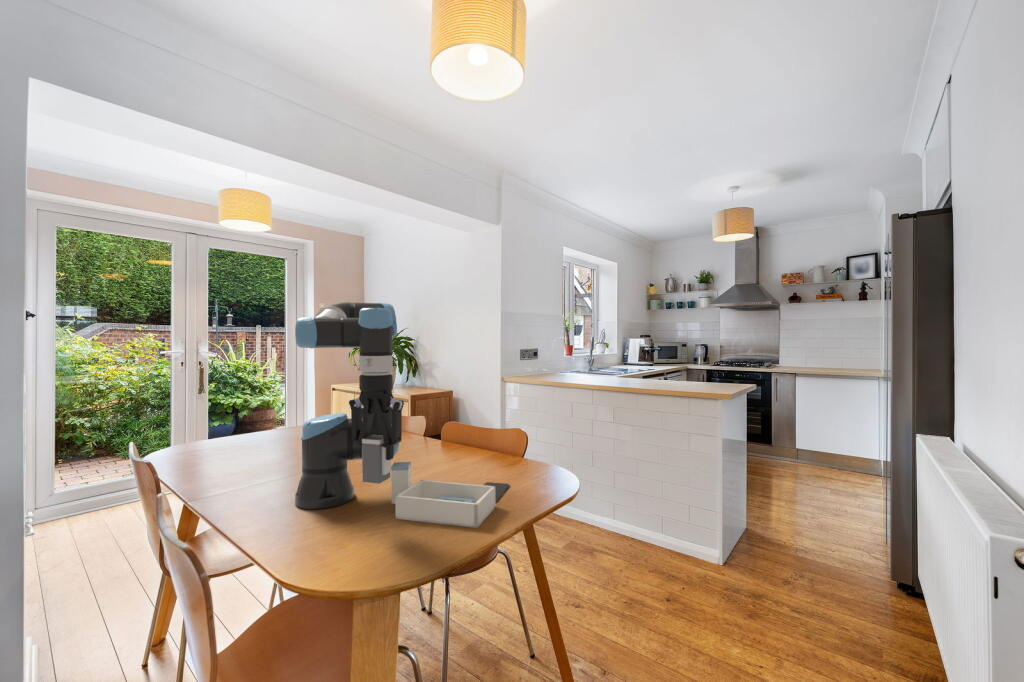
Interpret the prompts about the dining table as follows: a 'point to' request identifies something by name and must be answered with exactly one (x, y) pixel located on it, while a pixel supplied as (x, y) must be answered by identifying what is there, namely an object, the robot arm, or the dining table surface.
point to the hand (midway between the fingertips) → (376, 472)
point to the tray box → (446, 503)
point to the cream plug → (400, 478)
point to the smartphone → (498, 489)
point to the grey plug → (373, 459)
